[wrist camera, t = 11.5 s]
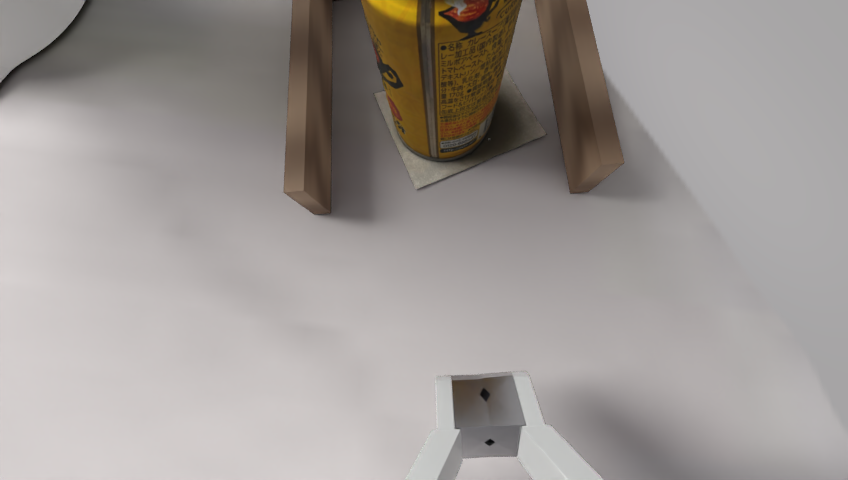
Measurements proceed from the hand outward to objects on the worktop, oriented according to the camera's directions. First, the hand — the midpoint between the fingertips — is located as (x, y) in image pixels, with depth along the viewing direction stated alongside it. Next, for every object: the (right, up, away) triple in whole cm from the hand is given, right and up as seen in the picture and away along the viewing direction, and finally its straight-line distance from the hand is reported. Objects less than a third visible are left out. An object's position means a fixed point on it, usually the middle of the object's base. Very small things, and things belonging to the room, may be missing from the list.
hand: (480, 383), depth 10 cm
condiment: (0, +13, +9) cm, 15 cm away
